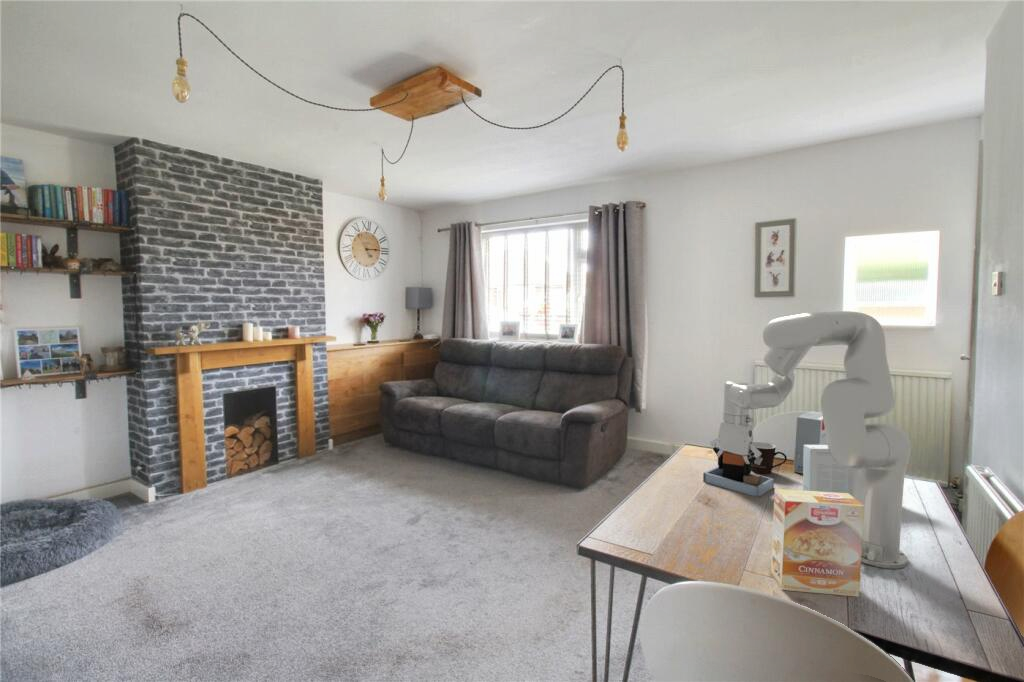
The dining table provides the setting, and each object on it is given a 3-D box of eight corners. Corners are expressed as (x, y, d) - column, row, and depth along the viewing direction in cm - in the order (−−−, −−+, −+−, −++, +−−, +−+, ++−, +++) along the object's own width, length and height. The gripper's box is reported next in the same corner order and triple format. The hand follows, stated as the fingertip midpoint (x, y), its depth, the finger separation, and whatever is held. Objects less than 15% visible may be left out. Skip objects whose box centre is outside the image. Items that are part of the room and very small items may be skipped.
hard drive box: (817, 478, 166) (820, 420, 164) (793, 472, 171) (795, 416, 170) (831, 467, 176) (833, 413, 174) (807, 462, 182) (809, 410, 180)
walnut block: (757, 490, 152) (756, 478, 152) (744, 488, 155) (743, 476, 155) (762, 487, 155) (761, 475, 155) (749, 485, 158) (748, 473, 158)
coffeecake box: (781, 590, 102) (785, 500, 100) (769, 572, 109) (773, 487, 107) (861, 598, 99) (866, 505, 97) (843, 578, 106) (848, 491, 104)
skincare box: (872, 494, 151) (874, 444, 150) (883, 502, 146) (886, 450, 144) (800, 492, 153) (802, 443, 152) (809, 499, 148) (811, 448, 147)
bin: (757, 499, 148) (758, 488, 148) (703, 483, 162) (703, 472, 161) (773, 489, 156) (773, 478, 156) (720, 474, 169) (720, 465, 169)
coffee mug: (741, 470, 174) (742, 442, 173) (761, 467, 176) (761, 440, 176) (767, 481, 163) (768, 452, 162) (787, 478, 165) (789, 449, 165)
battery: (722, 475, 163) (723, 446, 162) (745, 478, 160) (746, 449, 159) (721, 479, 159) (722, 450, 158) (744, 483, 156) (746, 453, 155)
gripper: (768, 421, 154) (766, 476, 155) (715, 412, 167) (713, 462, 168) (758, 426, 149) (756, 481, 150) (704, 415, 162) (703, 467, 164)
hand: (733, 471), depth 159 cm, fingers closed on battery, 7 cm apart
